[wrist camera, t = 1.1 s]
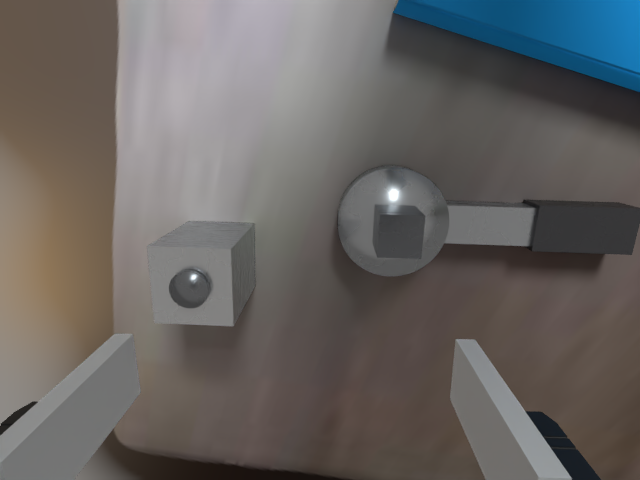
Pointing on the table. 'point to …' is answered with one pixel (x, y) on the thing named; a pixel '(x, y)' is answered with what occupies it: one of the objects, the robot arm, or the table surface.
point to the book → (548, 31)
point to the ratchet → (466, 223)
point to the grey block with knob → (202, 273)
